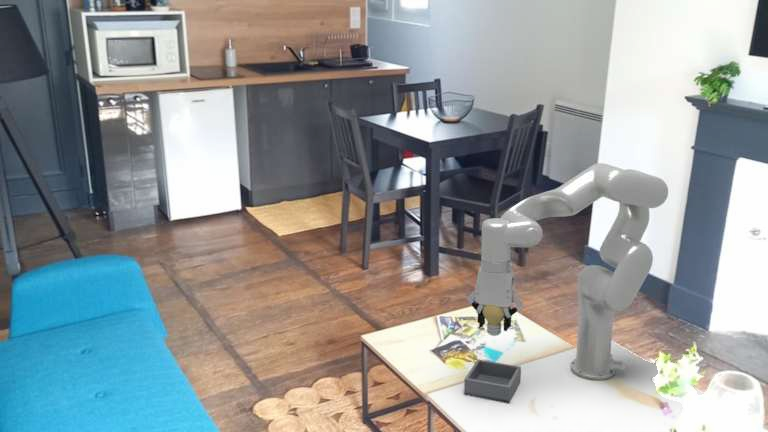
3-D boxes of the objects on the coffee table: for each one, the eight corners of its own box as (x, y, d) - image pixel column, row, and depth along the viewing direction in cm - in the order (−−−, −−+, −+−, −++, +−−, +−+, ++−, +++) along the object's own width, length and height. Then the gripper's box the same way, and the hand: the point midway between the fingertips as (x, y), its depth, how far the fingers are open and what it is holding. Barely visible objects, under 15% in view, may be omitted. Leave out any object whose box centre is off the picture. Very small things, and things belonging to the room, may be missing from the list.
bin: (520, 382, 205) (520, 366, 204) (509, 403, 194) (509, 387, 193) (477, 374, 210) (477, 359, 209) (464, 394, 199) (464, 379, 198)
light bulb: (481, 338, 195) (481, 303, 192) (483, 328, 201) (483, 294, 198) (505, 339, 194) (506, 305, 191) (506, 329, 200) (507, 296, 197)
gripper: (531, 264, 192) (528, 326, 197) (468, 257, 199) (467, 317, 204) (524, 273, 185) (522, 337, 190) (459, 265, 192) (459, 328, 197)
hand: (494, 326), depth 197 cm, fingers closed on light bulb, 6 cm apart
